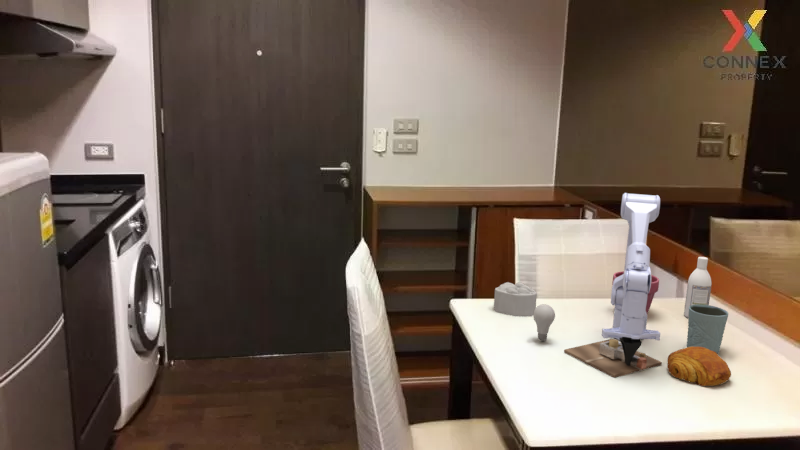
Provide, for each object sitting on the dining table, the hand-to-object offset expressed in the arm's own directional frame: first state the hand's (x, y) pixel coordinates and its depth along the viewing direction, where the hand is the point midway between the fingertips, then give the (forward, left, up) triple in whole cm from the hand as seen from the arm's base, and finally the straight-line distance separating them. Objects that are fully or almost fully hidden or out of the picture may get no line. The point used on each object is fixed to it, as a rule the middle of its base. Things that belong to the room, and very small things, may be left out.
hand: (627, 364), depth 175 cm
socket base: (-2, -7, -1) cm, 7 cm away
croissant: (-14, +11, -2) cm, 18 cm away
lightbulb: (+7, -25, -2) cm, 26 cm away
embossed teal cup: (-31, 0, -2) cm, 31 cm away
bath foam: (-53, -19, -2) cm, 56 cm away
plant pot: (-36, -30, -2) cm, 47 cm away
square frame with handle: (-2, -3, 0) cm, 4 cm away
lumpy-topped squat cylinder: (-3, -49, -2) cm, 49 cm away
